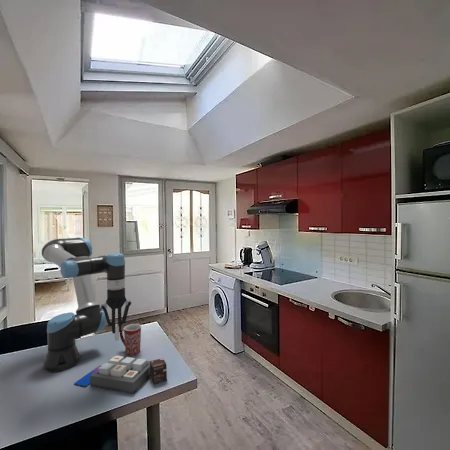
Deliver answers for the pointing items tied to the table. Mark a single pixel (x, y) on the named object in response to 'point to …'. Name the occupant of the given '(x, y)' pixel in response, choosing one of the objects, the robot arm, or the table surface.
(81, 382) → the smartphone
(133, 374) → the key
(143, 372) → the keypad
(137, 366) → the key
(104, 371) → the key
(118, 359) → the key
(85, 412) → the table surface
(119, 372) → the key
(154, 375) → the box
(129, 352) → the mug
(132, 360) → the key
